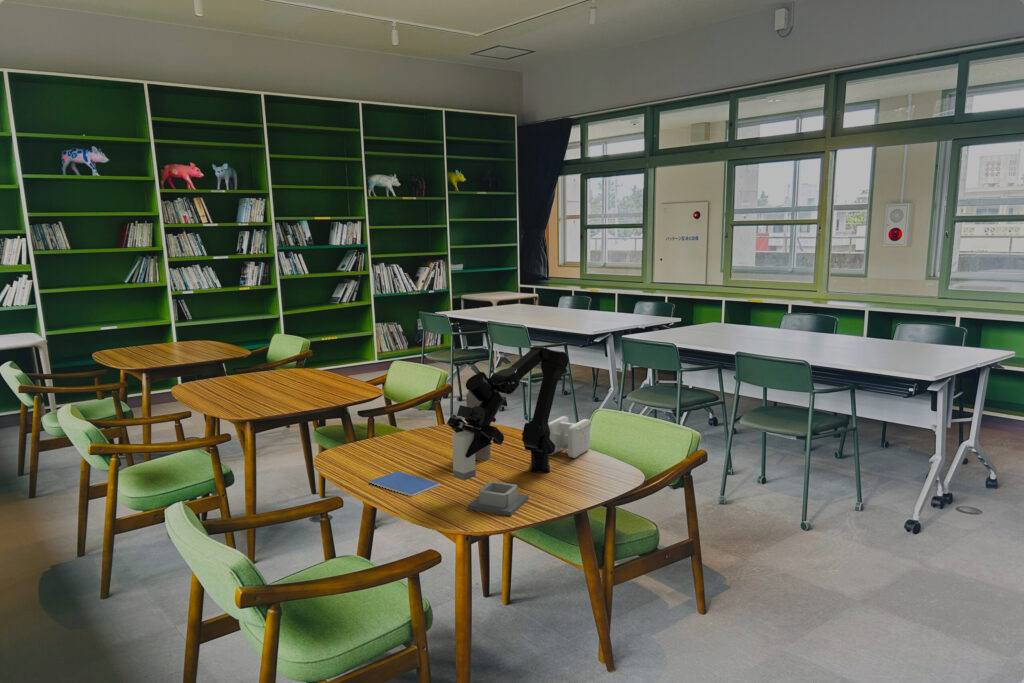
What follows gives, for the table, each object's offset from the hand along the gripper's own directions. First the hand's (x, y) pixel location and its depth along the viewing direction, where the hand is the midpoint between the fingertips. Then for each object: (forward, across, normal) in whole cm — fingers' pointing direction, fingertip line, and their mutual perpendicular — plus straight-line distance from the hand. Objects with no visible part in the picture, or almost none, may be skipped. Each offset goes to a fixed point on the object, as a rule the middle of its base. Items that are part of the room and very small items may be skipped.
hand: (460, 455), depth 191 cm
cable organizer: (-29, -4, +49) cm, 57 cm away
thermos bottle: (-12, -24, +31) cm, 41 cm away
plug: (+4, 0, +6) cm, 7 cm away
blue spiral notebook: (+12, -22, +8) cm, 27 cm away
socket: (+6, +10, +12) cm, 17 cm away
